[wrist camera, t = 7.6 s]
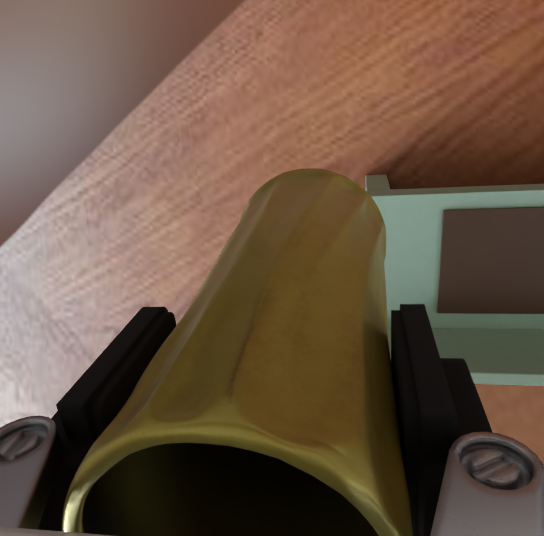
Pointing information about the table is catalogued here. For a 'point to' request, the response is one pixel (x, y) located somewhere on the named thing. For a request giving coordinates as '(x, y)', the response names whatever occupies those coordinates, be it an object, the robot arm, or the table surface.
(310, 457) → the vase
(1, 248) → the table surface
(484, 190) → the shelf
